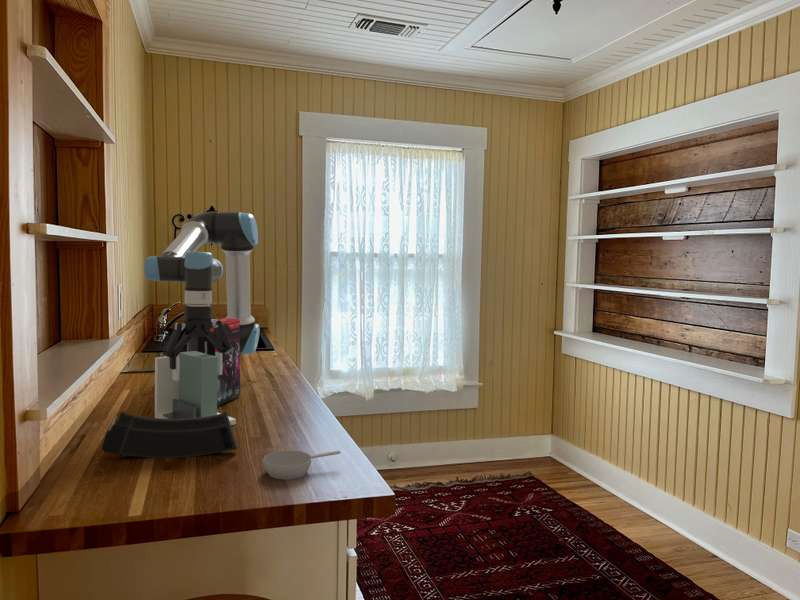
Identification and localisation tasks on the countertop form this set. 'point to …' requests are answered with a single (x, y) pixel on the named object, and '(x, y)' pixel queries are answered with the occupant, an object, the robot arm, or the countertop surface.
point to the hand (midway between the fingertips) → (197, 377)
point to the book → (199, 382)
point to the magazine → (169, 436)
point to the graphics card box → (226, 360)
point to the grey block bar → (181, 410)
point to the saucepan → (290, 463)
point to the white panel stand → (167, 389)
